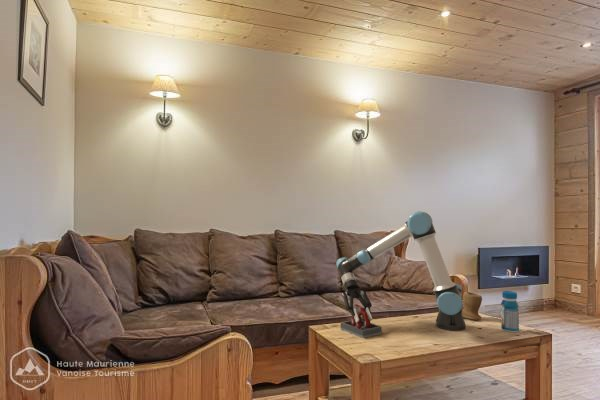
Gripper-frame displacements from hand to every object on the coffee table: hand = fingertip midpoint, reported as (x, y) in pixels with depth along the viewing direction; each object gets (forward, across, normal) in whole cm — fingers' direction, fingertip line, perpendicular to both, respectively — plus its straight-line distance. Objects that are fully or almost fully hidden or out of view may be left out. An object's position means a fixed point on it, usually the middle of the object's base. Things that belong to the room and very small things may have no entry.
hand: (364, 320), depth 192 cm
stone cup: (-1, -73, -10) cm, 74 cm away
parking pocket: (+2, 0, -7) cm, 7 cm away
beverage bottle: (+18, -76, +8) cm, 79 cm away
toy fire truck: (+1, 0, -6) cm, 6 cm away
